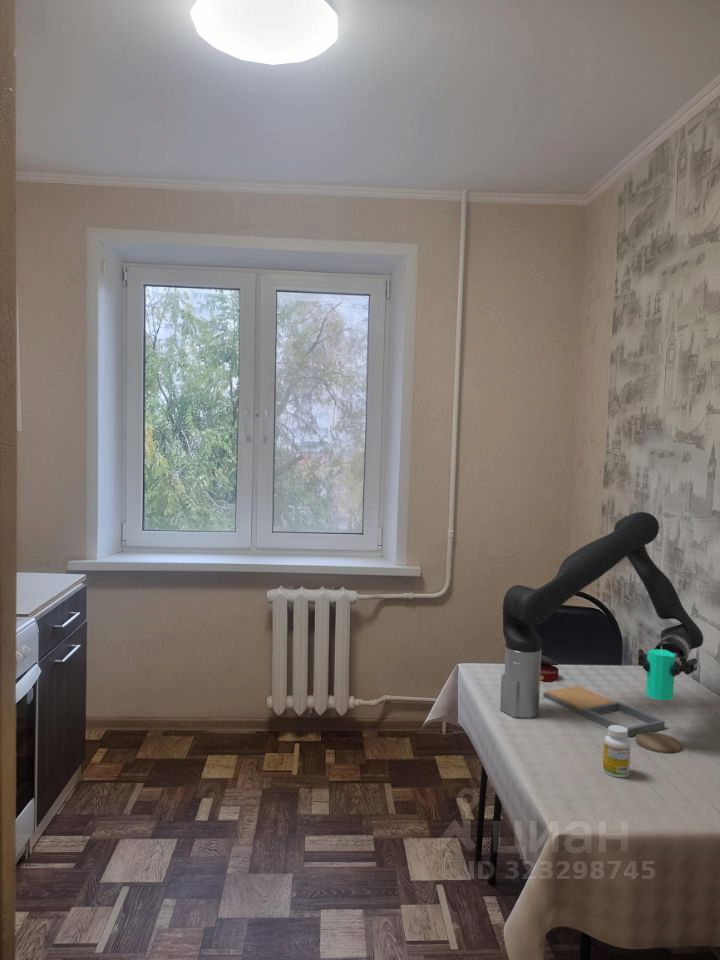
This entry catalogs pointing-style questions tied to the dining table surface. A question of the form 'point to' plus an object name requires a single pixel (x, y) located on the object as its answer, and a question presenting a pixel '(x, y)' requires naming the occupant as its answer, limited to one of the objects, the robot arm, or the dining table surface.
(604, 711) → the case
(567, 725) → the dining table surface
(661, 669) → the candle
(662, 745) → the coaster
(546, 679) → the canned food
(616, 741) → the supplement bottle
